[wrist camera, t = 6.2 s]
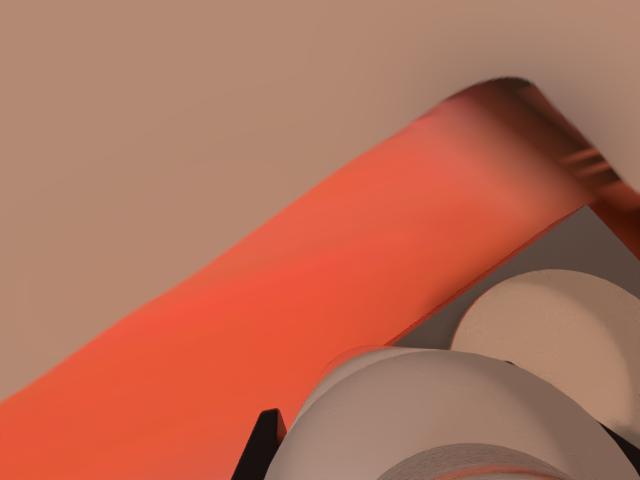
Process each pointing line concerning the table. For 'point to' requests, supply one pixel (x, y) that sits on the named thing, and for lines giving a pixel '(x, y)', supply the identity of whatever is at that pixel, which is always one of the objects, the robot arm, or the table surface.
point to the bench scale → (555, 318)
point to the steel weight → (441, 423)
